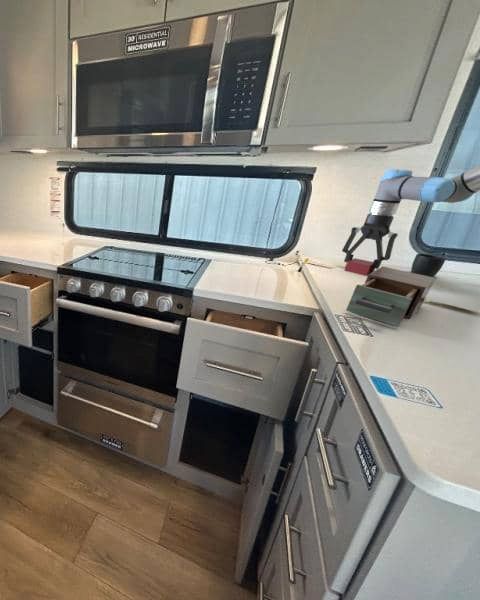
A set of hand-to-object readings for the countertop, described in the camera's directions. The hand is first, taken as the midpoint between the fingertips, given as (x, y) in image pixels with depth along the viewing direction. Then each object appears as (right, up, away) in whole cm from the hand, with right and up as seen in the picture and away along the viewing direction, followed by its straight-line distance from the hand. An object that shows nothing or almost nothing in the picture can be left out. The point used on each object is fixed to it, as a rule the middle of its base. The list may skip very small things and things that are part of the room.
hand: (357, 273), depth 130 cm
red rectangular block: (0, 0, 0) cm, 0 cm away
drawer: (-27, -15, -38) cm, 49 cm away
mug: (+27, -2, +2) cm, 27 cm away
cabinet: (-14, -12, -28) cm, 34 cm away
